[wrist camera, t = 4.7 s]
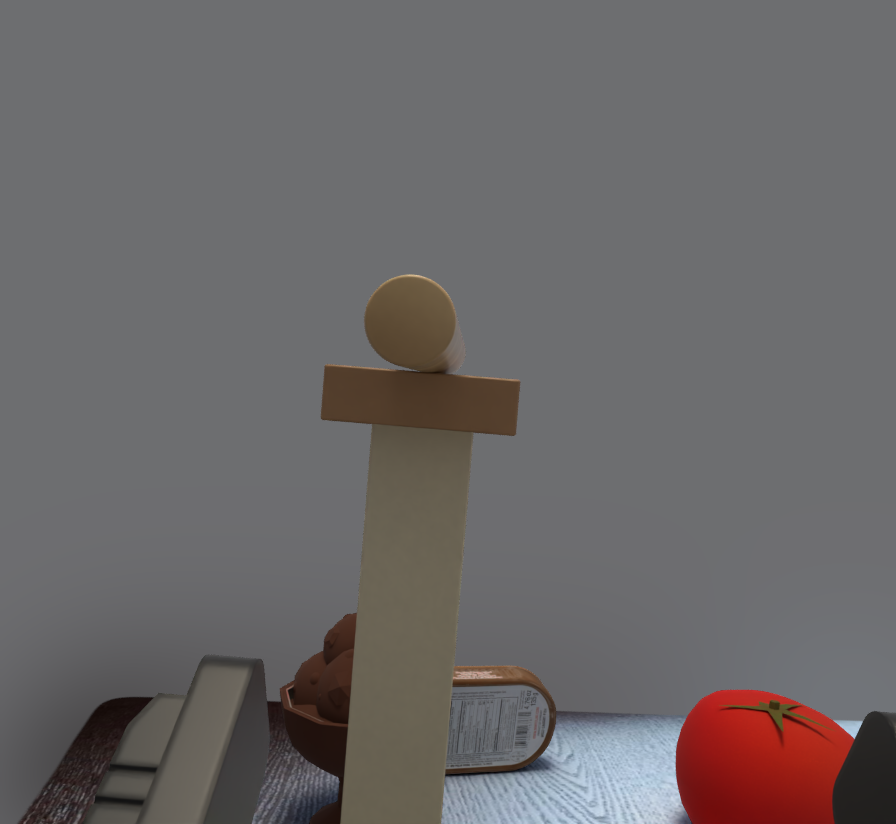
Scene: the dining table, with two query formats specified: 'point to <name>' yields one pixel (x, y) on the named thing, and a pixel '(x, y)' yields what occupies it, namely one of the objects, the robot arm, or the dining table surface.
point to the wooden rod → (415, 325)
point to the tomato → (758, 760)
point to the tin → (497, 719)
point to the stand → (409, 577)
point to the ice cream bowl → (323, 709)
